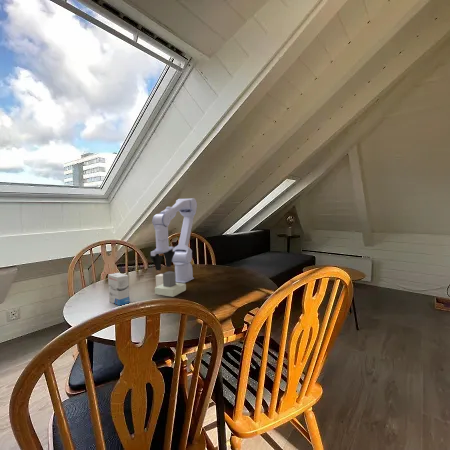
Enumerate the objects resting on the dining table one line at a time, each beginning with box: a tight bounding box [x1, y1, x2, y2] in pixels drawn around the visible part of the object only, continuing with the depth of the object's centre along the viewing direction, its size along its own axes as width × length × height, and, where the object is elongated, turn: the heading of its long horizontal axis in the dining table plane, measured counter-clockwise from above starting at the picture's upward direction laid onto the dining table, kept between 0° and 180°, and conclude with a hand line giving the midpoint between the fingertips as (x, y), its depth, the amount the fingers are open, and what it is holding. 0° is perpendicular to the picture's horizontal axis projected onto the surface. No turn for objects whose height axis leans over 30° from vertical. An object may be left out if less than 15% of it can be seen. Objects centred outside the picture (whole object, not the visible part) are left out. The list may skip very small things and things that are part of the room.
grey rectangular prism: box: [162, 270, 177, 287], centre depth 130 cm, size 4×4×6 cm
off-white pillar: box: [155, 273, 163, 287], centre depth 138 cm, size 4×4×6 cm
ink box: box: [107, 272, 131, 307], centre depth 118 cm, size 8×5×12 cm, turn 48°
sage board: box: [154, 282, 187, 297], centre depth 130 cm, size 10×10×3 cm
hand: (163, 268), depth 133 cm, fingers open, 7 cm apart
